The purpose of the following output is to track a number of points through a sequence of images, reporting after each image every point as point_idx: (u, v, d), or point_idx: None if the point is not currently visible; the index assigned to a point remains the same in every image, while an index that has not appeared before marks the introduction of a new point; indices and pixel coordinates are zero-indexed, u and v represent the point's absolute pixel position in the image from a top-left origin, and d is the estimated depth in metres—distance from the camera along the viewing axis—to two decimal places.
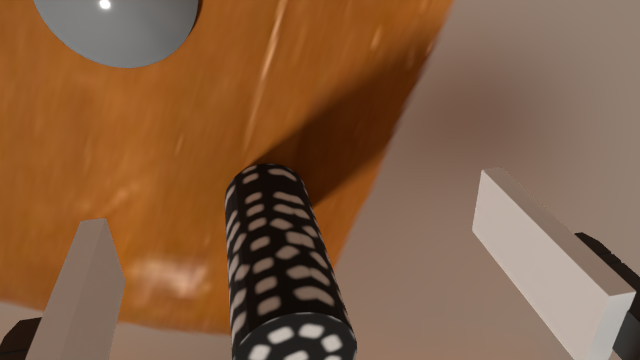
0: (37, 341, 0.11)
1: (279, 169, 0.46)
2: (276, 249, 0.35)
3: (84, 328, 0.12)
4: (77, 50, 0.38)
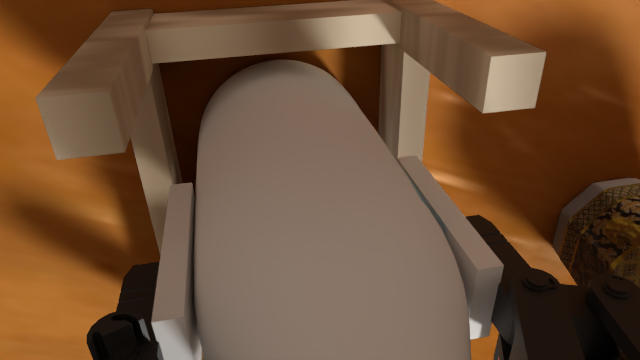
0: (161, 277, 0.13)
1: None
2: None
3: (191, 271, 0.14)
4: None
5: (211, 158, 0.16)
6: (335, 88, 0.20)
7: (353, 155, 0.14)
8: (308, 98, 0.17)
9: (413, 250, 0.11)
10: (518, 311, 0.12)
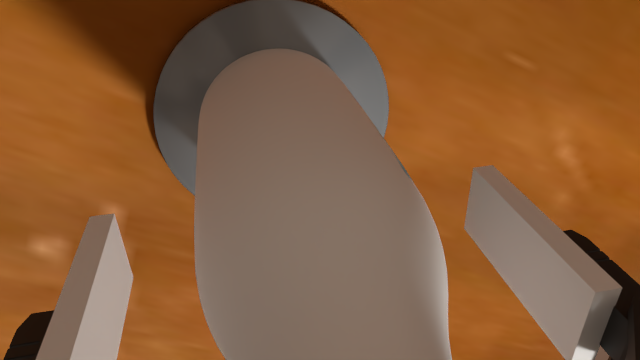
0: (50, 333, 0.11)
1: None
2: None
3: (95, 321, 0.13)
4: None
5: (210, 138, 0.17)
6: (328, 74, 0.21)
7: (341, 131, 0.15)
8: (301, 82, 0.18)
9: (394, 212, 0.12)
10: (634, 331, 0.11)
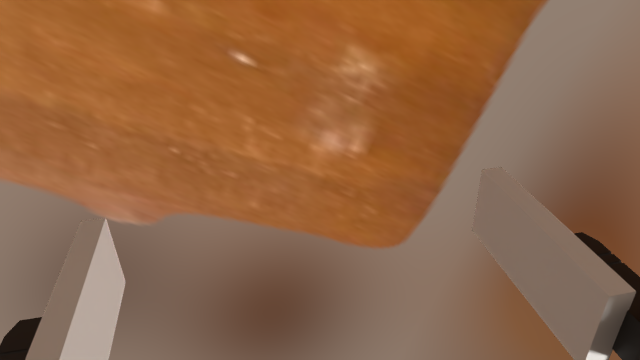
0: (37, 341, 0.11)
1: None
2: None
3: (84, 328, 0.12)
4: None
5: None
6: None
7: None
8: None
9: None
10: None
